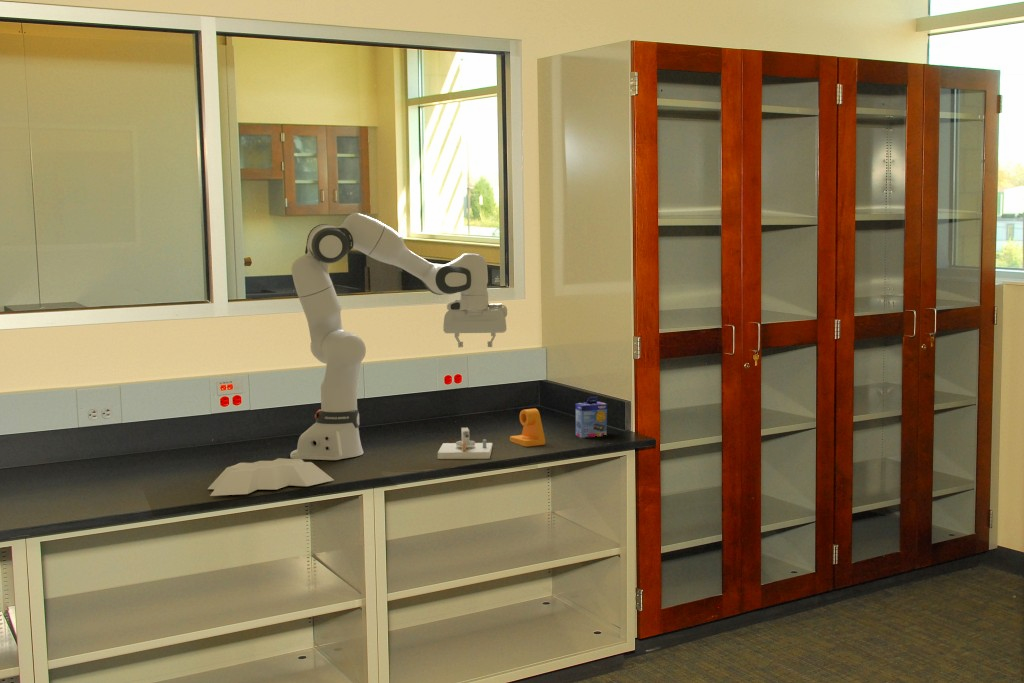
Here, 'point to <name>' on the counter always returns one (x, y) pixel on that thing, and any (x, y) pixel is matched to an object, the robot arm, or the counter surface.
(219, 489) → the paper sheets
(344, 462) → the counter surface
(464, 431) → the knob
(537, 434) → the bracket
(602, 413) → the ink cartridge box
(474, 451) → the dial plate
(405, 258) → the robot arm
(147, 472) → the counter surface
